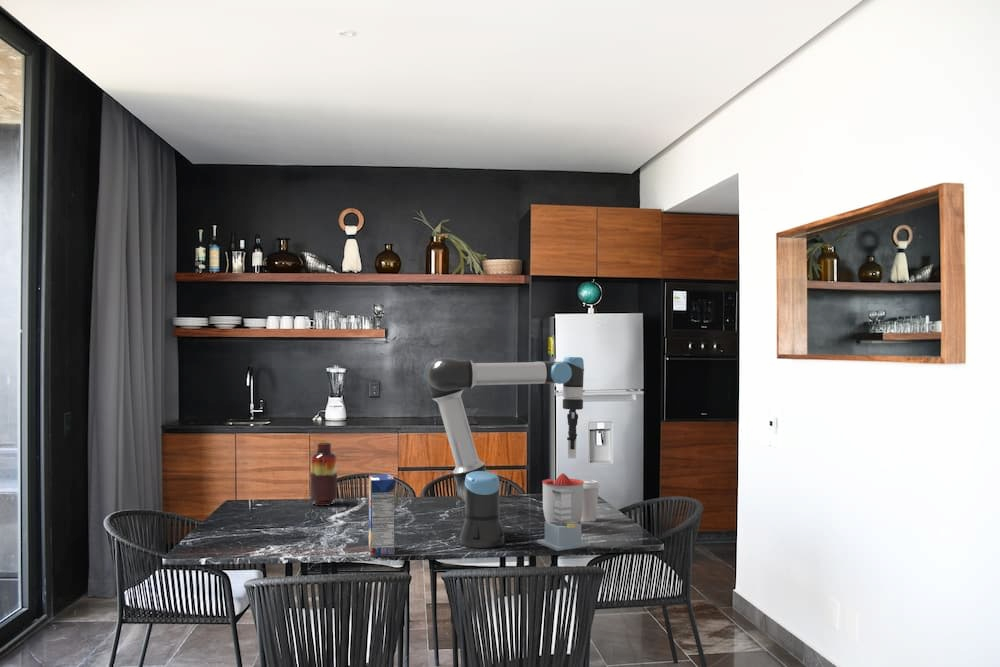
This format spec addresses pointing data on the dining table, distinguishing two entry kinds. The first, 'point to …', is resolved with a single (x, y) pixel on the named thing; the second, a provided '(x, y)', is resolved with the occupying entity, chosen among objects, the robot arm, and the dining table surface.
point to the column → (562, 507)
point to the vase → (323, 475)
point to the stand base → (562, 536)
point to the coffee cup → (590, 500)
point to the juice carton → (381, 515)
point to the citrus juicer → (576, 497)
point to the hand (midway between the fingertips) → (571, 456)
